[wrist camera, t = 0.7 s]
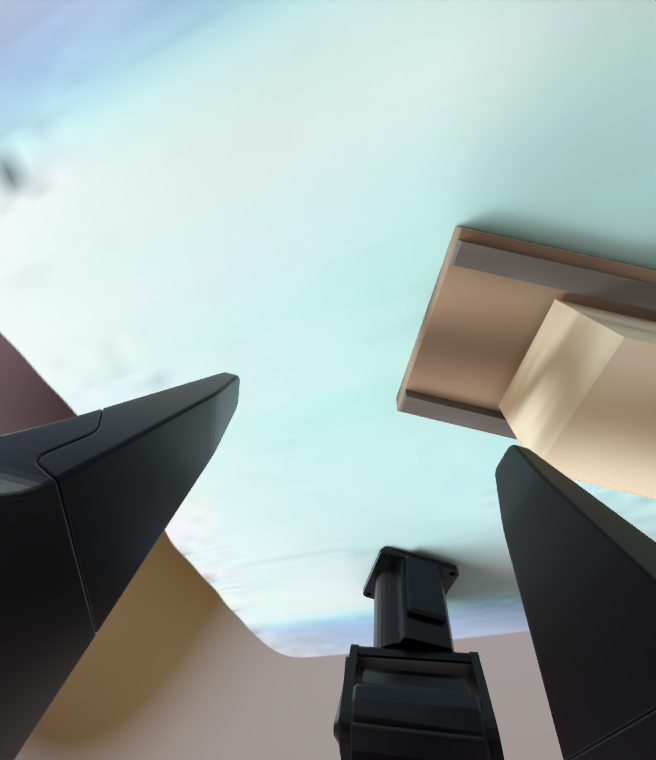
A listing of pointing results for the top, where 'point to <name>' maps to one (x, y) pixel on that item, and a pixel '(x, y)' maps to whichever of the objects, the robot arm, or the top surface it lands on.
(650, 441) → the slider block
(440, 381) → the slider track
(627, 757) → the robot arm
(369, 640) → the top surface
